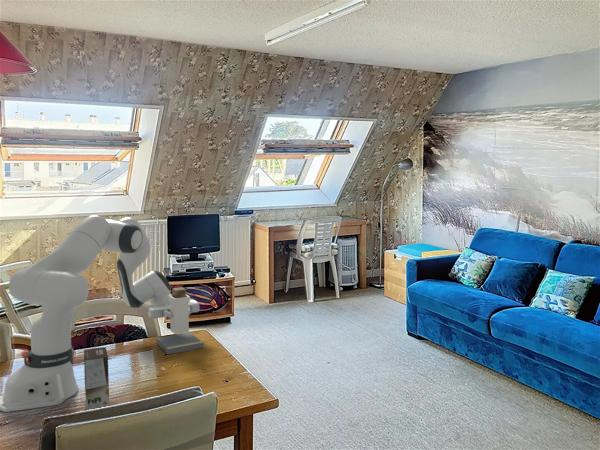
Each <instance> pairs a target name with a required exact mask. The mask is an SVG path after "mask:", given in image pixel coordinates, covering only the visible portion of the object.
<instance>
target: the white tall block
mask: <svg viewBox="0 0 600 450" xmlns="http://www.w3.org/2000/svg"><path fill="white" fill-rule="evenodd" d="M190 298H191V296H190V295H188V294H187V293H186V297H181V298H174V297H172V295H168V301H170V312H172V313H173V317H171V318H169V319H170V320H169V321H170V323H169V324H170V328H169V329H170V331H171V332H172V333H173V335H178V334H184V333H190V327H189V325H190V323H189V321H190V319H189V318H190V317H189V316H190V315H189V308H188V302H190Z"/></svg>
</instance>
